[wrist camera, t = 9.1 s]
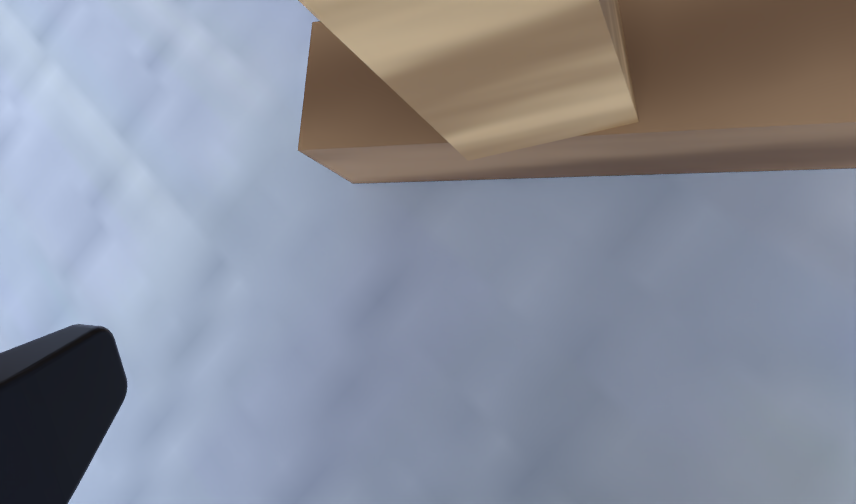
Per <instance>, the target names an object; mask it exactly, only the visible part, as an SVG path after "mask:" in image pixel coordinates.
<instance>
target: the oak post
mask: <svg viewBox="0 0 856 504" xmlns="http://www.w3.org/2000/svg"><path fill="white" fill-rule="evenodd" d="M298 1H300V2H301V3H302V4H303V5H304V6H305V7H306V8H307V9H308V10H309V11H310V12H311V13H312V14H313V15H314V16H315V17H316V18H318V19H319V20H320V21H321V22H322V23H323V24H324V25H325V26H326V27H327V28H328V29H329V30H330V31H331V32H332V33H333V34H334V35H336V36H337V37H338V38H339V39H340V40H341V41H342V42H343V43H344V44H345V45H346V46H347V47H348V48H349V49H350V50H351V51H352V52H353V53H355V54H356V55H357V56H358V57H359V58H360V59H361V60H362V61H363V62H364V63H365V64H366V65H367V66H368V67H369V68H370V69H371V70H373V71H374V72H375V73H376V74H377V75H378V76H379V77H380V78H381V79H382V80H383V81H384V82H385V83H386V84H387V85H388V86H389V87H391V88H392V89H393V90H394V91H395V92H396V93H397V94H398V95H399V96H400V97H401V98H402V99H403V100H404V101H405V102H406V103H407V104H409V105H410V106H411V107H412V108H413V109H414V110H415V111H416V112H417V113H418V114H419V115H420V116H421V117H422V118H423V119H424V120H425V121H427V122H428V123H429V124H430V125H431V126H432V127H433V128H434V129H435V130H436V131H437V132H438V133H439V134H440V135H441V136H442V137H443V138H445V139H446V140H447V141H448V142H449V143H450V144H451V145H452V146H453V147H454V148H455V149H456V150H457V151H458V152H459V153H460V154H461V155H462V156H464V157H465V158H466V159H467V160H468V161H469V160H474V159H478V158H483V157H487V156H491V155H496V154H500V153H505V152H509V151H513V150H518V149H522V148H527V147H531V146H535V145H540V144H544V143H549V142H553V141H557V140H562V139H566V138H571V137H575V136H579V135H584V134H588V133H593V132H597V131H601V130H606V129H610V128H615V127H619V126H623V125H628V124H632V123H637V122H639V120H638V114H637V108H636V102H635V97H634V91H633V85H632V79H631V74H630V68H629V62H628V56H627V51H626V45H625V39H624V33H623V28H622V22H621V16H620V10H619V5H618V0H298Z"/></svg>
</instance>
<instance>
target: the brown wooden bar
mask: <svg viewBox="0 0 856 504" xmlns="http://www.w3.org/2000/svg"><path fill="white" fill-rule="evenodd" d="M618 5H619V10H620V16H621V22H622V28H623V33H624V39H625V45H626V51H627V56H628V62H629V68H630V74H631V79H632V85H633V91H634V97H635V102H636V108H637V114H638V120H639V122H637V123H632V124H628V125H623V126H619V127H615V128H610V129H606V130H601V131H597V132H593V133H588V134H584V135H579V136H575V137H571V138H566V139H562V140H557V141H553V142H549V143H544V144H540V145H535V146H531V147H527V148H522V149H518V150H513V151H509V152H505V153H500V154H496V155H491V156H487V157H483V158H478V159H474V160H469V161H468V160H467V159H466V158H465V157H464V156H462V155H461V154H460V153H459V152H458V151H457V150H456V149H455V148H454V147H453V146H452V145H451V144H450V143H449V142H448V141H447V140H446V139H445V138H443V137H442V136H441V135H440V134H439V133H438V132H437V131H436V130H435V129H434V128H433V127H432V126H431V125H430V124H429V123H428V122H427V121H425V120H424V119H423V118H422V117H421V116H420V115H419V114H418V113H417V112H416V111H415V110H414V109H413V108H412V107H411V106H410V105H409V104H407V103H406V102H405V101H404V100H403V99H402V98H401V97H400V96H399V95H398V94H397V93H396V92H395V91H394V90H393V89H392V88H391V87H389V86H388V85H387V84H386V83H385V82H384V81H383V80H382V79H381V78H380V77H379V76H378V75H377V74H376V73H375V72H374V71H373V70H371V69H370V68H369V67H368V66H367V65H366V64H365V63H364V62H363V61H362V60H361V59H360V58H359V57H358V56H357V55H356V54H355V53H353V52H352V51H351V50H350V49H349V48H348V47H347V46H346V45H345V44H344V43H343V42H342V41H341V40H340V39H339V38H338V37H337V36H336V35H334V34H333V33H332V32H331V31H330V30H329V29H328V28H327V27H326V26H325V25H324V24H323V23H322V22H321V21H318V22H312V30H311V39H310V48H309V57H308V66H307V74H306V83H305V92H304V101H303V110H302V118H301V127H300V136H299V145H298V151H300V152H302V153H303V154H305V155H307V156H308V157H310V158H312V159H313V160H315V161H317V162H318V163H320V164H322V165H323V166H325V167H327V168H328V169H330V170H332V171H333V172H335V173H337V174H338V175H340V176H341V177H343V178H345V179H346V180H348V181H350V182H351V183H386V182H419V181H451V180H484V179H516V178H549V177H581V176H614V175H646V174H679V173H711V172H744V171H777V170H809V169H842V168H856V0H618Z"/></svg>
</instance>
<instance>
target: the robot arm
mask: <svg viewBox="0 0 856 504" xmlns="http://www.w3.org/2000/svg"><path fill="white" fill-rule="evenodd" d="M126 393H127V378H126V375H125V371H124V368H123V365H122V362H121V358H120V355H119V352H118V349H117V345H116V342H115V339H114V337H113V334H112V333H111V332H110V331H109V330H108V329H107V328H105V327H102V326H93V325H83V324H77V325H72V326H69V327H66V328H64V329H61V330H59V331H56V332H54V333H51V334H48V335H46V336H43V337H41V338H38V339H35V340H33V341H30V342H28V343H25V344H23V345H20V346H17V347H15V348H12V349H10V350H7V351H5V352H2V353H0V504H68V502H69V500H70V499H71V497H72V495H73V493H74V492H75V490H76V488H77V486H78V485H79V483H80V481H81V479H82V477H83V475H84V473H85V472H86V470H87V468H88V466H89V464H90V462H91V461H92V459H93V457H94V455H95V453H96V451H97V449H98V448H99V446H100V444H101V442H102V440H103V438H104V436H105V435H106V433H107V431H108V429H109V427H110V425H111V423H112V422H113V420H114V418H115V416H116V414H117V412H118V411H119V409H120V407H121V405H122V403H123V401H124V399H125V396H126Z"/></svg>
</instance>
